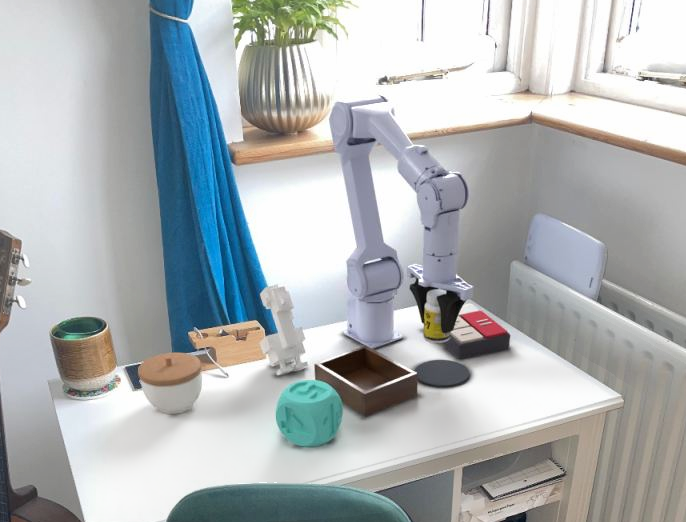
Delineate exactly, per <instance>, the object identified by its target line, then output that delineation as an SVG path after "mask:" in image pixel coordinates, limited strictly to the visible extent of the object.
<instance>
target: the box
mask: <svg viewBox="0 0 686 522" xmlns="http://www.w3.org/2000/svg"><path fill="white" fill-rule="evenodd" d="M314 380H318V381H322V382H325V383H327V384H329V385H330V386H331V387H332V388H333V389H334V390H335V391H336V392H337V393H338V395H339V397H340V399H341V401H342V404H343V405H345V406H347V407H348V408H349V409H352V410H353V411H355V412H356V413H358V414H359V415H361V416H362V417H364V418H366V417H368V416H371V415H373V414H375V413H378V412H381V411H383V410H385V409H388V408H391V407H393V406H395V405H398V404H401V403H403V402H405V401H408V400H410V399H413V398H416V397H417V396H418V384H419V383H418V382H419V381H418V373H416V372H414V370H413V369H411V368H409V367H407V366H405V365H403V364H402V363H399V362H398V361H395V360H394V359H392V358H390V357H389V356H387V355H385V354H382V353H381V352H379V351H377V350H376V349H375V348H374V349H372V348H370V347H368V346H366V345H363V346H360V347H356V348H354V349H352V350H349V351H346V352H342V353H341V354H337V355H334V356H332V357H329V358H325V359H323V360H320V361H318V362H315V363H314Z"/></svg>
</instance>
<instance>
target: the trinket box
mask: <svg viewBox="0 0 686 522" xmlns="http://www.w3.org/2000/svg"><path fill="white" fill-rule="evenodd" d="M137 374H138V378H139V380H140V381H139V382H140V385H141V389H142V392H143V394H144V396H145V398H146V399H147V401H148V403H150V405H152V406H153V407H154V408H156V409H157V410H159V411H160V413H163V414H167V415H178V414H181V413H185V412H187V411H189V410H191V408H193V406H194V404H195V403H196V402H197V400H198V399H199V397H200V395H201V392H202V387H203V373H202V362H201V360H200V359H199V358H198V357H197V356H195V355H193V354H190V353H186V352H166V353H161V354H156V355H154V356H151V357H149V358H147V359H145V360H144V361H143V362H141V363H140V365H139V366H138V368H137Z"/></svg>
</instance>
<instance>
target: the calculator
mask: <svg viewBox="0 0 686 522" xmlns="http://www.w3.org/2000/svg"><path fill="white" fill-rule="evenodd" d="M510 340H511V333H509V332H508V330H507V329H505V327H503V326H502V325H500V323H498V322H496V321H495V319H493V318H491V317H490V316H489V315H488V314H486V313H485V312H484V311H483V310H480V309H479V308H478V307H477V306H476V305H474V304H473V303H471V302H470V303H464V305H463V306H462V308H461V310H460V312H459V315H458V317H457V320H456V323H455V326H454V329H453V331H451V335H450V339H449V340H448V341H446V342H443V343H441V344H442V345H443V346H444V347H445V348H446V349H447V350H448V351H450V352H451V353H452V354H453V356H455V357H456V358H457V359H459V360H463V359H467V358H471V357H477V356H482V355H485V354H486V355H487V354H490V353H494V352H499V351H503V350H508V349H509V347H510V342H511V341H510Z"/></svg>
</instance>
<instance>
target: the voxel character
mask: <svg viewBox="0 0 686 522" xmlns="http://www.w3.org/2000/svg"><path fill="white" fill-rule="evenodd" d="M259 297H260V299H261V302H262V305H263V307H265V310H269V309H270V312H271V315H272V318H273V321H274V325H275V327H276V330H277V333H273V334H268V335H266V336H264V337H263V339H262V340H260V342H259V345H260V349H261V352H262V354H263V356H264V355H267V357H268V360H269V363H270V366H272V367H276V366H279V369H277V370H276V373H275V374H276V375H277V376H282V375H286V374H289V373H291V372H296V371H300V370H304V369H306V368H307V367H308V366H309V364H308V361H304V362H302V360H301V357H302V356H303V355H304V354H305V353H306V350H305V346H304V341H305V340H306V337H305V332H304V330H303V328H302V326H300V327H296V328H295V325H294V322H293V320H294V315H293V311H292V310H293V309H294V308H295V307H294V304H293V300H292V298H291V294H290V292H289V290H286V287H285V286H279V284H277V283H276V284H273V285H269V286H265V287H264V288H263V290H261V292H260V294H259ZM293 361H294V362H295V364H294V365H293V366H292V365H289V366H286V364H287V363H291V362H293Z"/></svg>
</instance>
